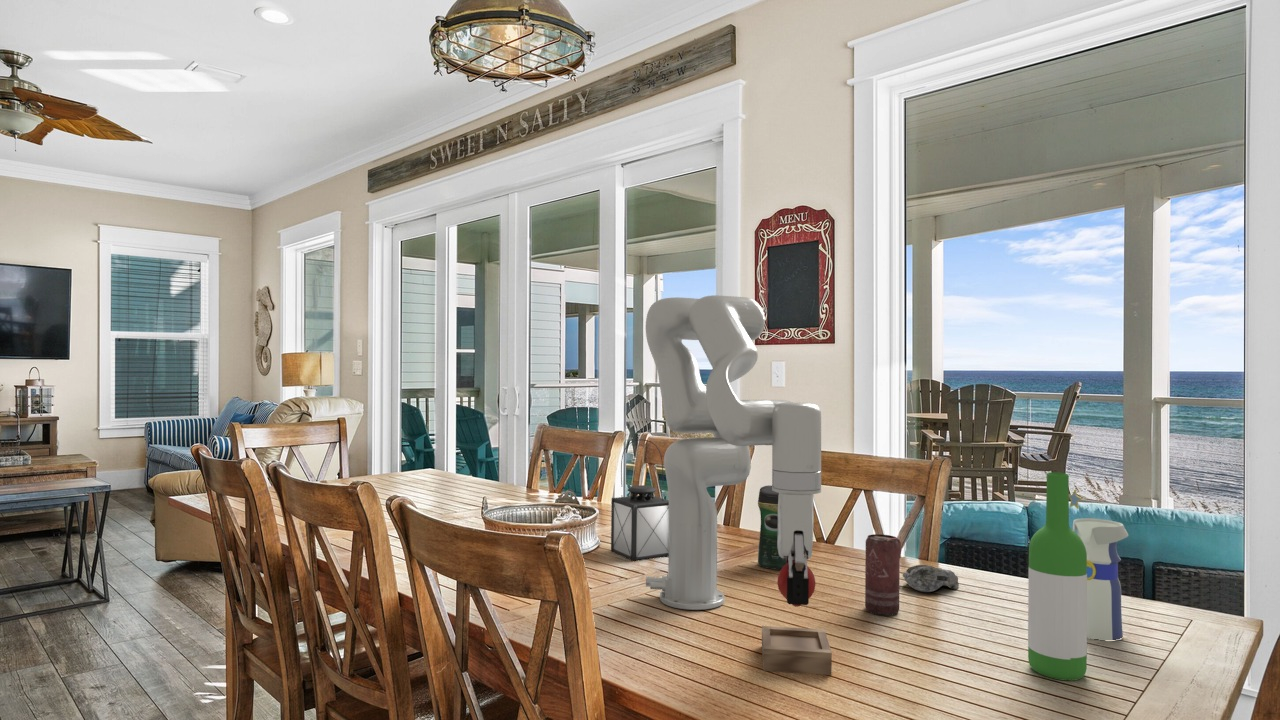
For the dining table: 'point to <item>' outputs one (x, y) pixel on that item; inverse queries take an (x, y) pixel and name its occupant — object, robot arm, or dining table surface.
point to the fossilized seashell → (930, 578)
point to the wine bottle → (1057, 590)
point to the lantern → (640, 523)
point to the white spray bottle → (1101, 574)
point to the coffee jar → (769, 530)
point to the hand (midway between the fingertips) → (796, 596)
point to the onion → (785, 573)
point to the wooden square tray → (796, 650)
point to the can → (882, 574)
